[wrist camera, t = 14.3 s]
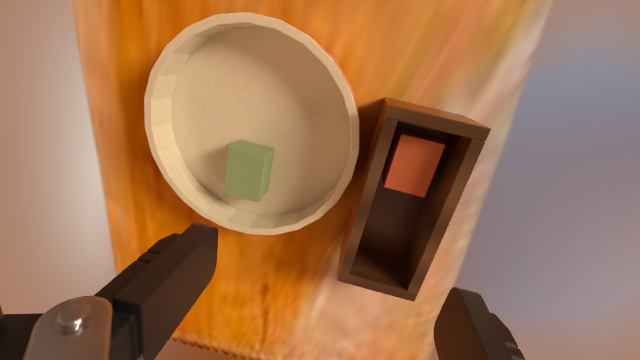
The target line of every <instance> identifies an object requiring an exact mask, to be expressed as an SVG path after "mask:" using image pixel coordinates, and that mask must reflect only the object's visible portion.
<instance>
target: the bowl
mask: <svg viewBox="0 0 640 360" xmlns="http://www.w3.org/2000/svg"><path fill="white" fill-rule="evenodd" d="M144 126H145V130H146V134H147V138H148V142H149V146H150V150H151V153H152V156H153V158H154V159H155V161H156V163H157V165H158V167H159V169H160V171H161V173H162V175H163V177H164V178H165V180H166V181H167V182H168V184H169V185H170V186H171V187H172V189H173V190H174V191H175V192H176V194H177V195H178V196H179V197H180V198H181V199H182V200H183V201H184V202H185V203H186V204H188V205H189V206H190V207H191V208H192V209H194V210H195V211H196V212H197V213H199V214H200V215H202V216H203V217H205V218H207V219H208V220H210V221H212V222H214V223H216V224H218V225H220V226H222V227H225V228H227V229H231V230H235V231H238V232H242V233H246V234H254V235H276V234H281V233H286V232H290V231H295V230H298V229H300V228H302V227H304V226H306V225H308V224H310V223H312V222H314V221H316V220H318V219H319V218H321V217H322V216H323V215H324V214H325V213H326V212H327V211H328V210H329V209H331V208H332V207H333V206H334V205H335V204H336V203H337V202H338V201H339V199H340V198H341V196H342V194H343V193H344V191H345V189H346V188H347V186H348V184H349V183H350V181H351V179H352V177H353V173H354V169H355V166H356V162H357V159H358V155H359V149H360V114H359V110H358V107H357V102H356V98H355V96H354V92H353V88H352V86H351V84H350V83H349V81H348V79H347V77H346V75H345V73H344V72H343V70H342V69H341V67H340V65H339V64H338V62H337V61H336V60H335V59H334V58H333V57H332V56H331V55H330V53H329V52H328V51H327V50H326V49H325V48H323V47H322V46H321V45H320V44H319V43H318V42H317V41H316V40H315V39H314V38H312V37H310V36H309V35H307V34H305V33H303V32H301V31H300V30H298V29H296V28H294V27H292V26H291V25H289V24H287V23H285V22H284V21H282V20H280V19H277V18H272V17H268V16H263V15H259V14H255V13H250V12H237V13H225V14H216V15H213V16H210V17H208V18H206V19H203V20H201V21H199V22H196V23H194V24H192V25H189V26H188V27H186V28H185V29H184V30H183V31H181V32H180V33H179V34H178V35H177V36H176V37H175V38H174V39H173V40H171V41H170V42H169V43H168V44H167V45H166V46H165V48H164V49H163V51H162V53H161V54H160V56H159V58H158V60H157V61H156V63H155V65H154V66H153V68H152V70H151V72H150V76H149V80H148V84H147V88H146V92H145V96H144ZM238 140H244V141H248V142H252V143H256V144H260V145H264V146H268V147H272V148H274V155H273V162H272V168H271V174H270V180H269V187H268V191H267V193H266V194H265V195H264V196H263V198H262V199H261V200H260V201H259V202H254V201H251V200H247V199H243V198H239V197H235V196H232V195H228V194H224V193H223V191H224V180H225V170H226V159H227V149H228V146H230V145H231V144H233V143H235V142H237V141H238Z"/></svg>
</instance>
